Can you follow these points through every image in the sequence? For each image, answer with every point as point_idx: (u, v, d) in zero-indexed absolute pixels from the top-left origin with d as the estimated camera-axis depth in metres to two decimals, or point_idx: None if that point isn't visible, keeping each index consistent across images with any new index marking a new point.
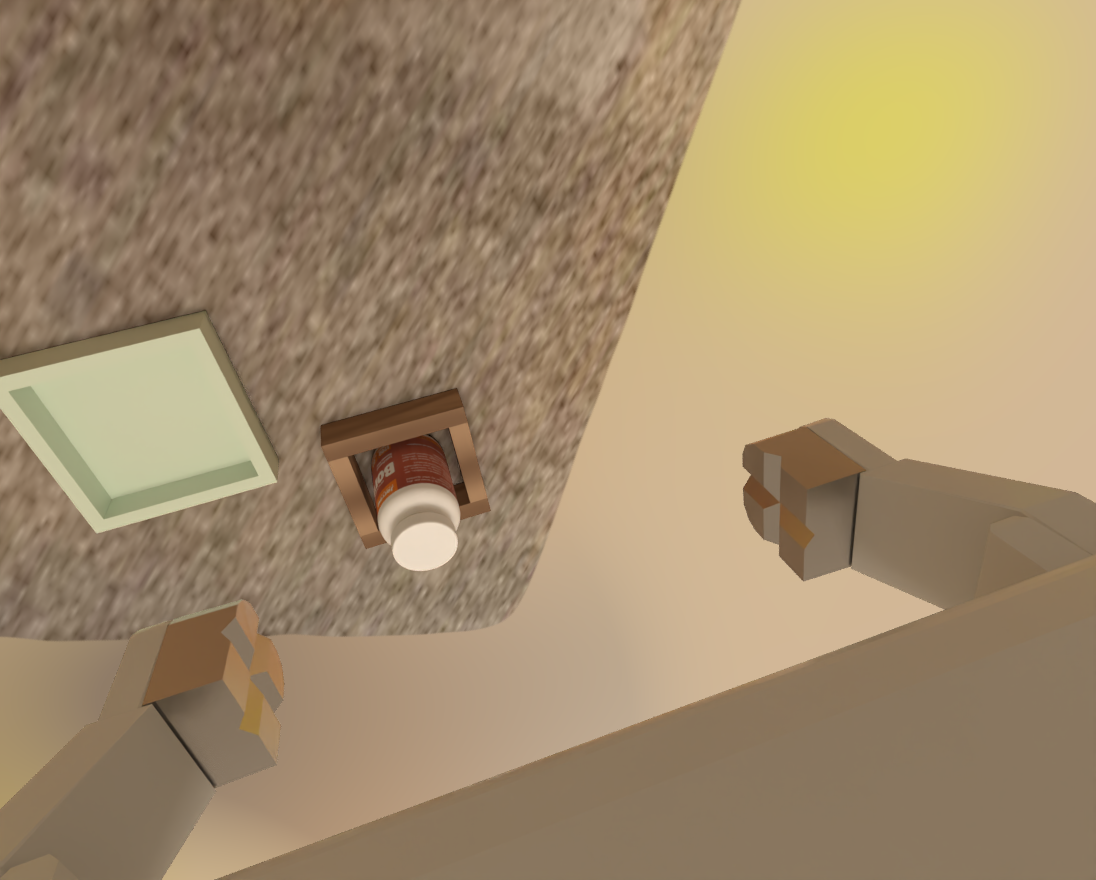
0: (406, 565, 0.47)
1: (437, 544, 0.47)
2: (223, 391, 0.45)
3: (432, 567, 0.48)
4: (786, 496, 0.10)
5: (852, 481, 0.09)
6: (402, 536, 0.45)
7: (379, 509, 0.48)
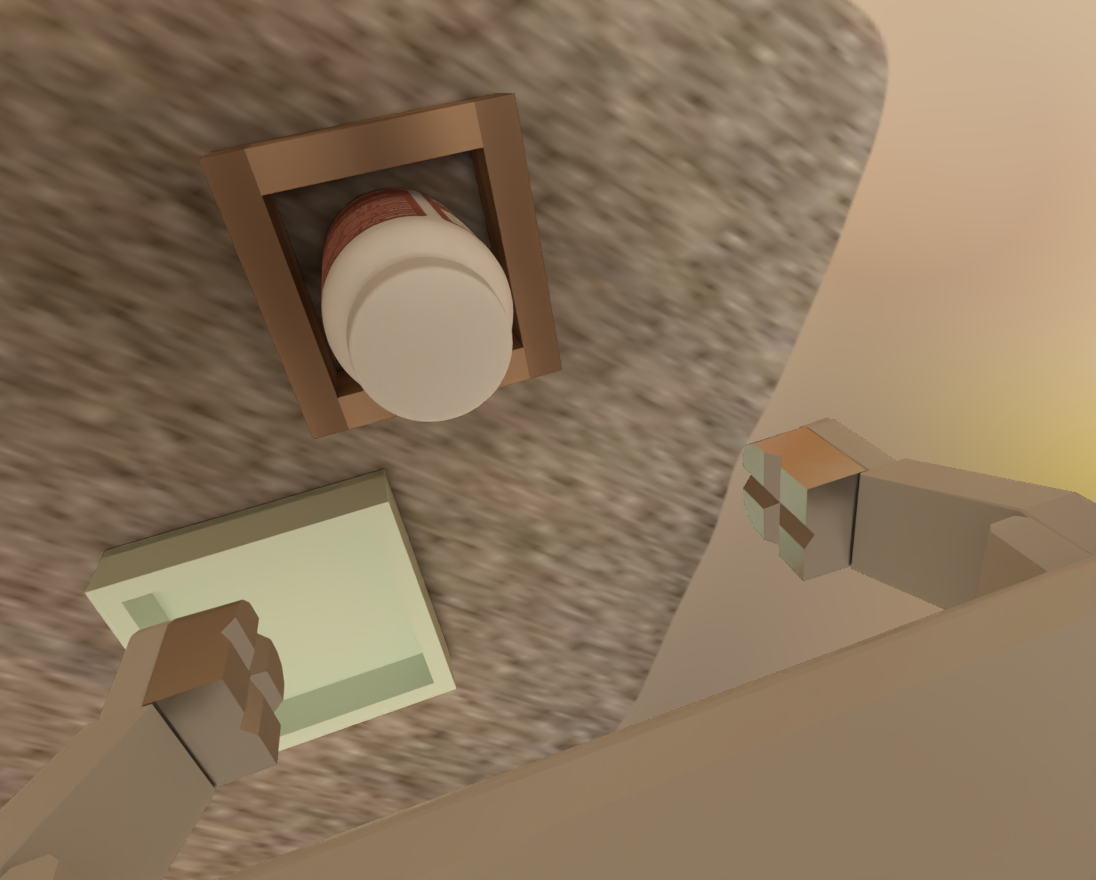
0: (483, 390, 0.20)
1: (427, 320, 0.18)
2: (203, 566, 0.29)
3: (503, 330, 0.19)
4: (786, 496, 0.10)
5: (852, 481, 0.09)
6: (388, 403, 0.19)
7: None
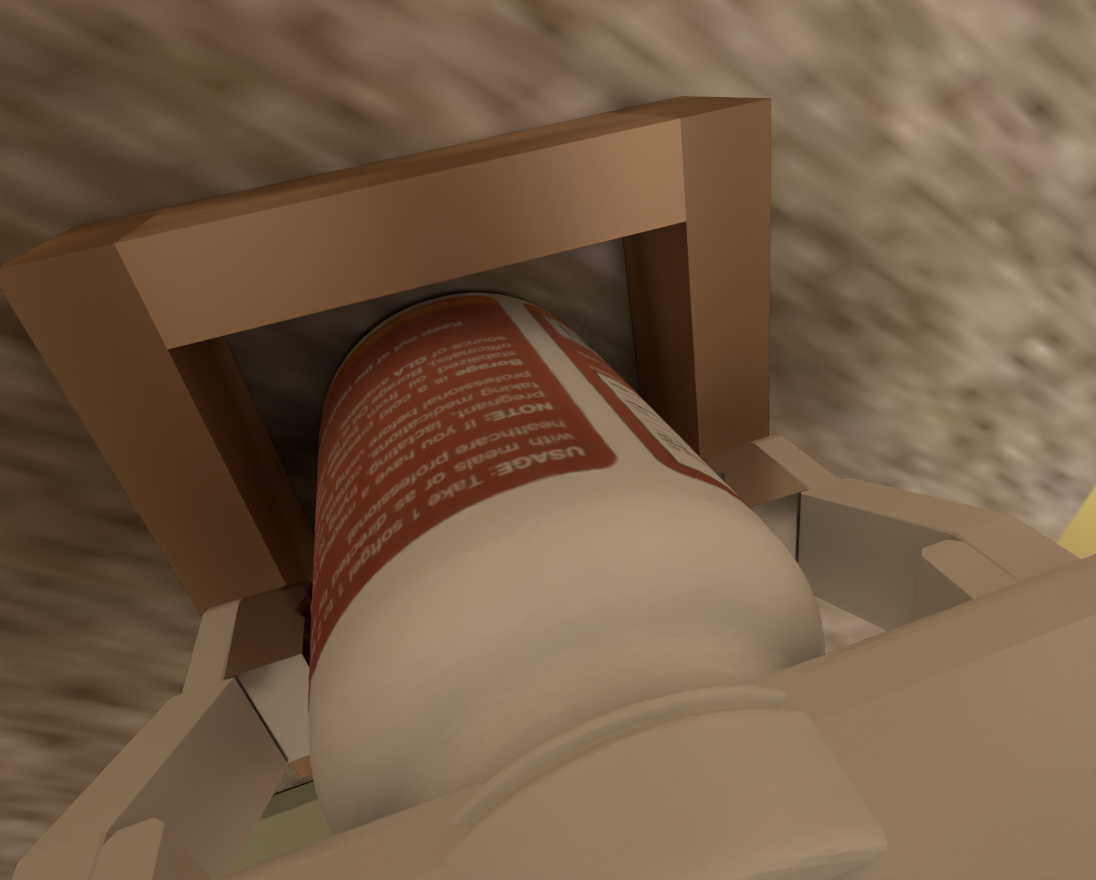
0: None
1: None
2: None
3: None
4: None
5: (793, 500, 0.09)
6: None
7: None
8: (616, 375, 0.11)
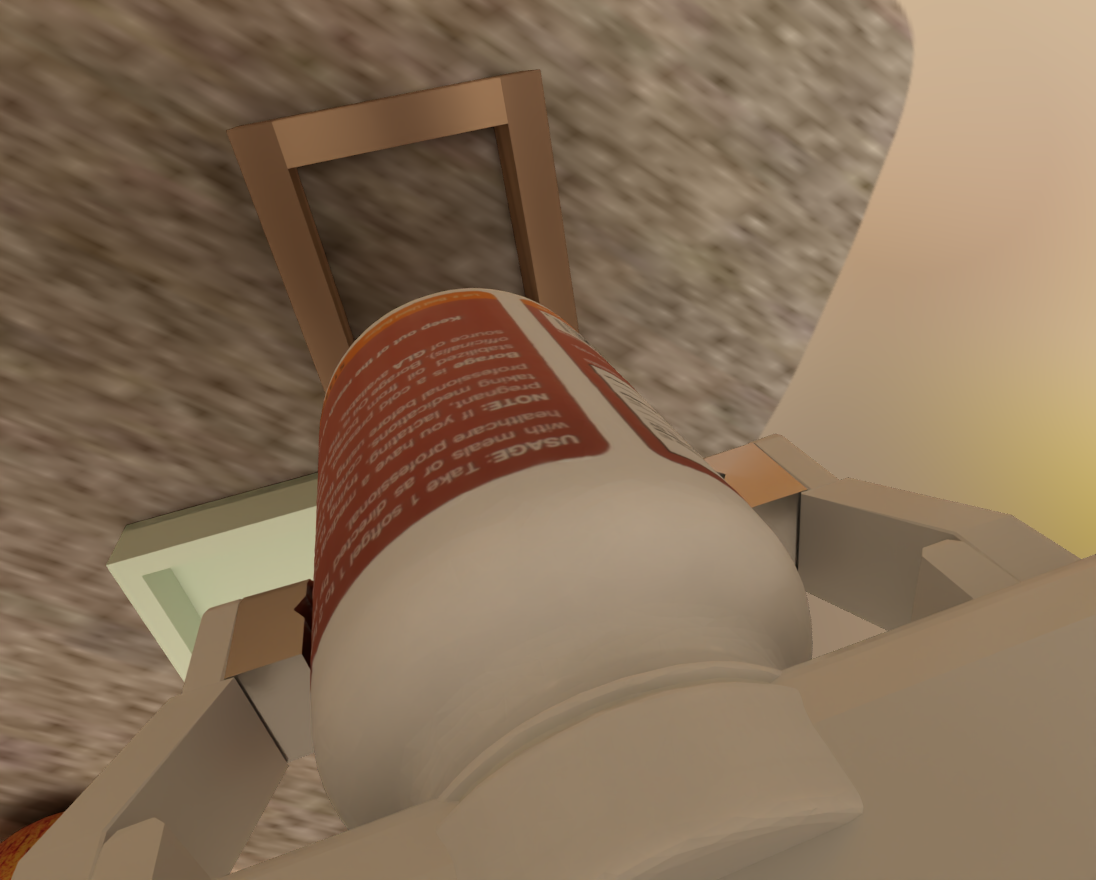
0: None
1: None
2: (223, 541, 0.29)
3: None
4: None
5: (793, 500, 0.09)
6: None
7: None
8: (611, 368, 0.11)
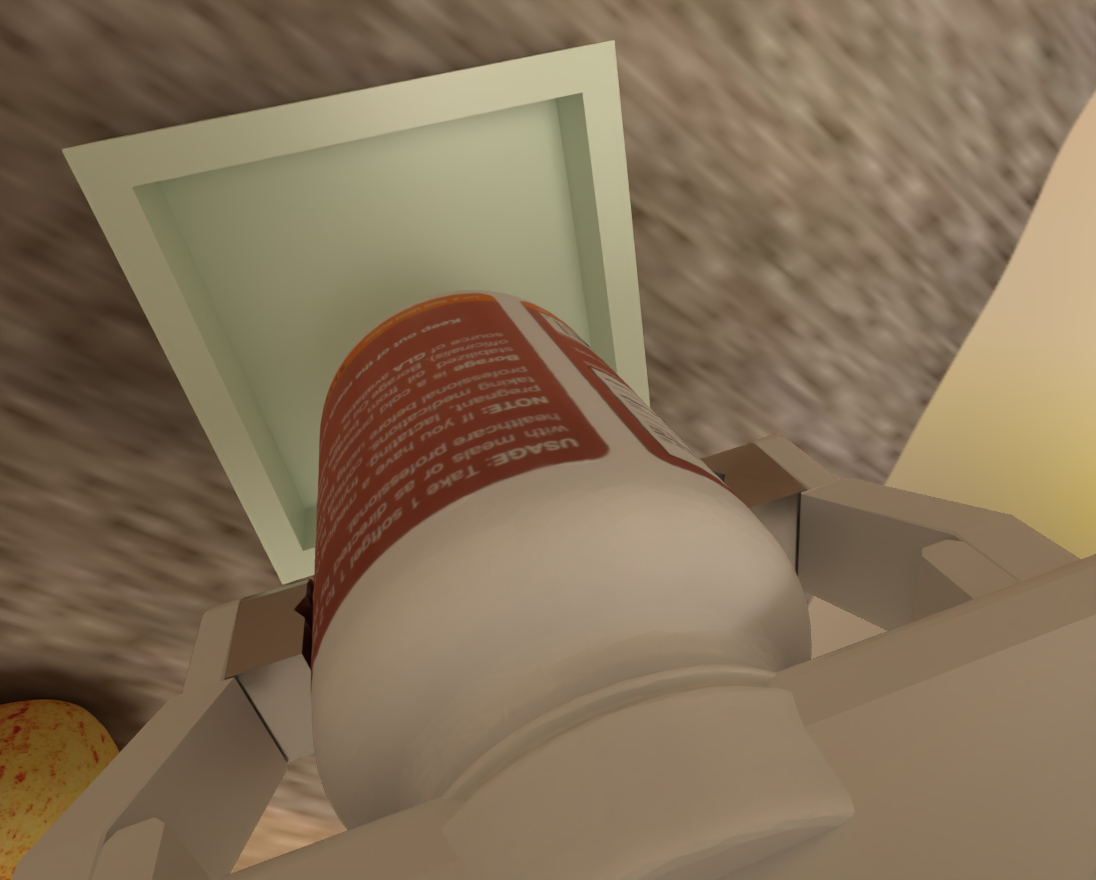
0: None
1: None
2: (285, 128, 0.15)
3: None
4: None
5: (793, 500, 0.09)
6: None
7: None
8: (611, 371, 0.11)
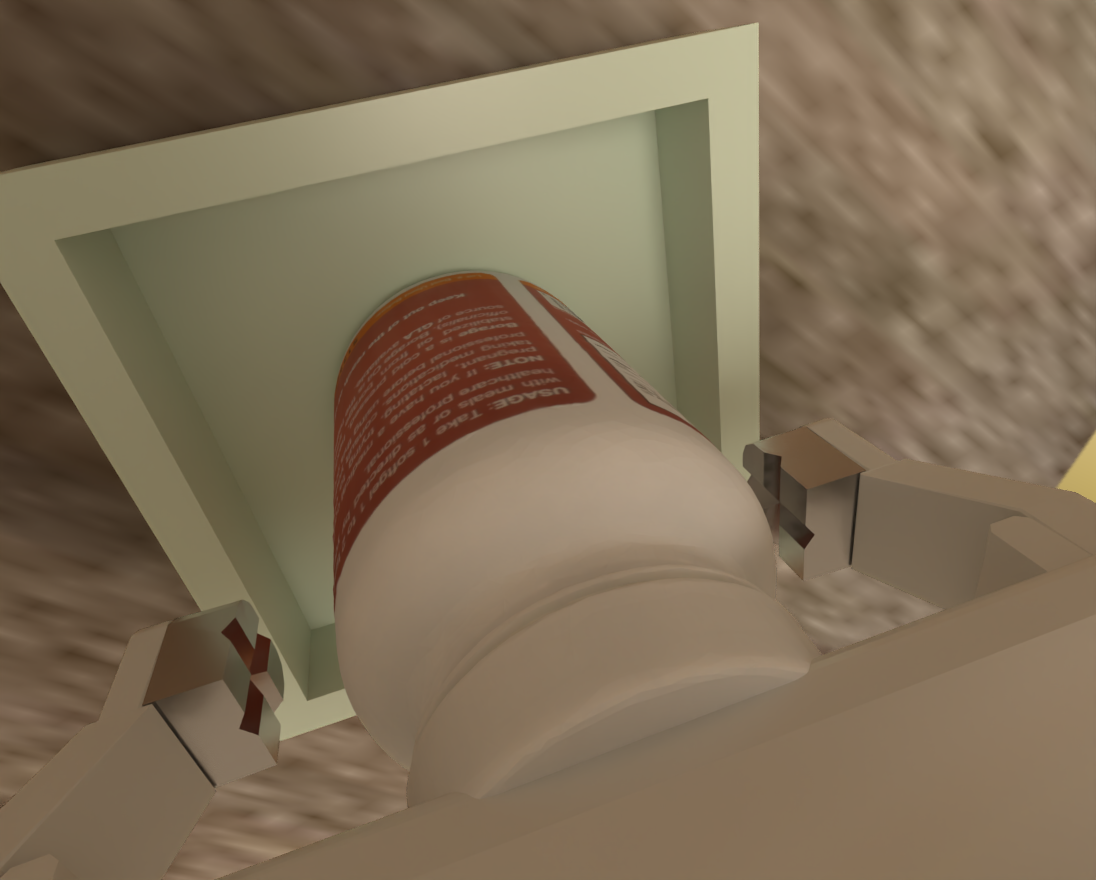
0: None
1: None
2: (283, 153, 0.10)
3: None
4: (786, 496, 0.10)
5: (852, 481, 0.09)
6: None
7: None
8: (602, 340, 0.12)
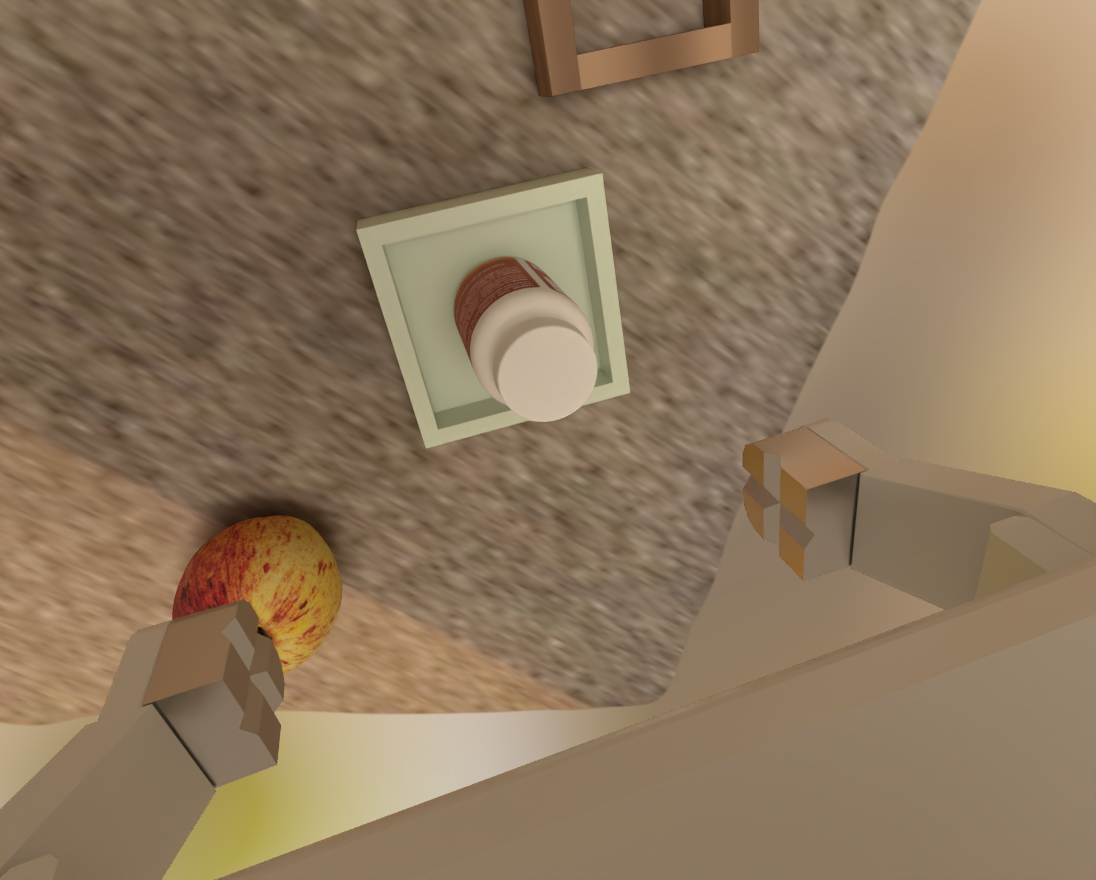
0: (577, 402, 0.30)
1: (546, 358, 0.29)
2: (449, 218, 0.34)
3: (592, 364, 0.30)
4: (786, 496, 0.10)
5: (852, 481, 0.09)
6: (518, 409, 0.30)
7: None
8: (550, 279, 0.35)
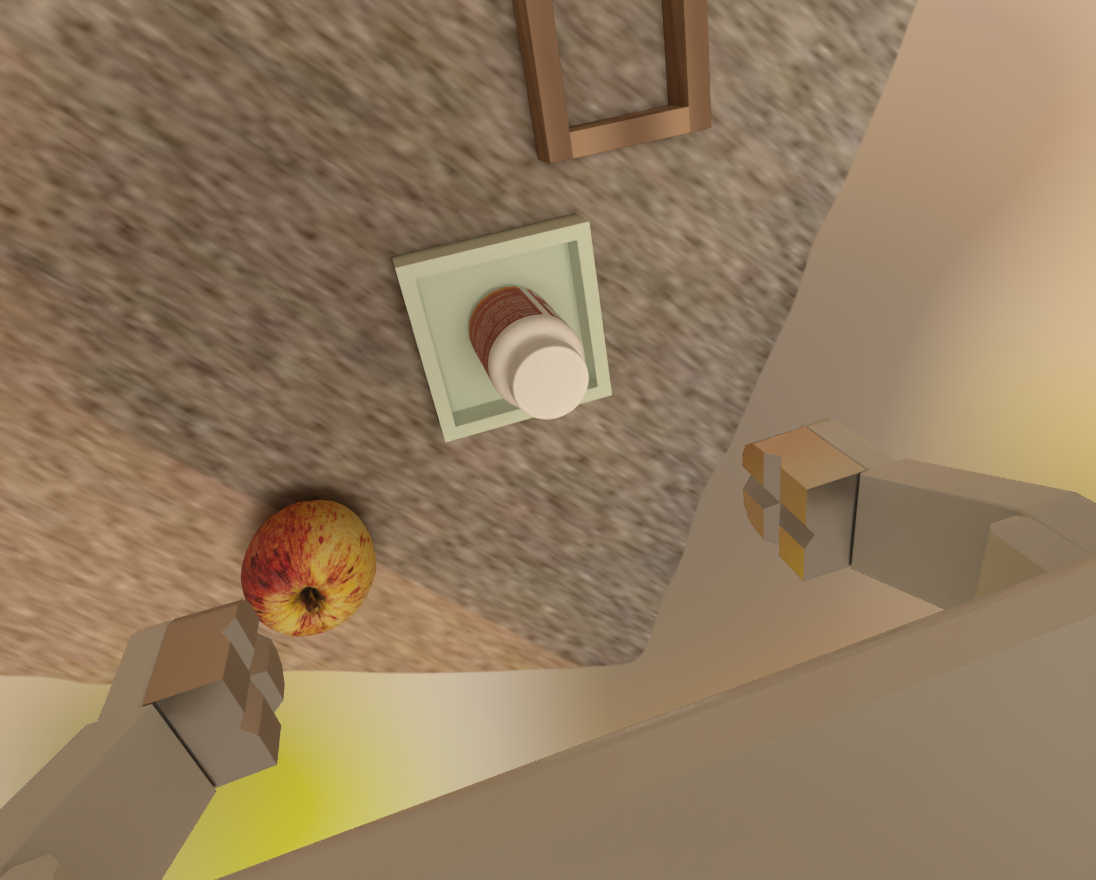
0: (573, 404, 0.39)
1: (550, 370, 0.38)
2: (468, 258, 0.42)
3: (584, 374, 0.38)
4: (786, 496, 0.10)
5: (852, 481, 0.09)
6: (528, 409, 0.38)
7: None
8: (548, 305, 0.44)
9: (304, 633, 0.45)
